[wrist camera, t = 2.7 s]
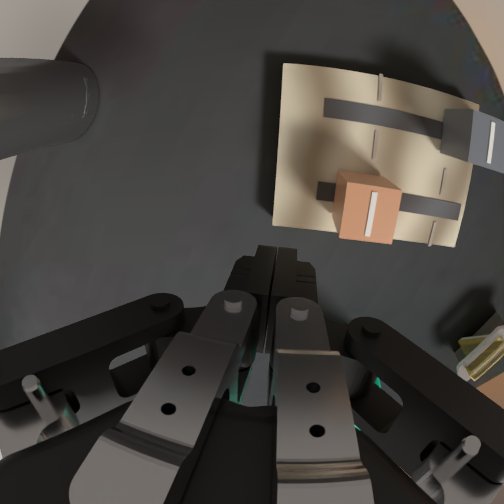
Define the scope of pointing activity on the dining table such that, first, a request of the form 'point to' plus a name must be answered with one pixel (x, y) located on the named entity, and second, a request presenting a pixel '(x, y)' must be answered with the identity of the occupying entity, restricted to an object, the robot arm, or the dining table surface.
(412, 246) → the dining table surface
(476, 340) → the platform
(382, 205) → the block
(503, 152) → the fader
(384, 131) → the panel
